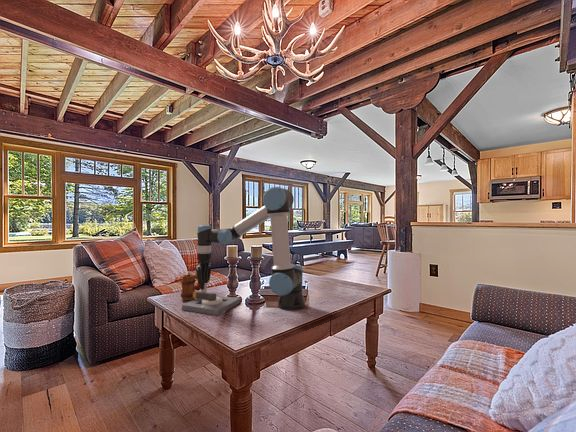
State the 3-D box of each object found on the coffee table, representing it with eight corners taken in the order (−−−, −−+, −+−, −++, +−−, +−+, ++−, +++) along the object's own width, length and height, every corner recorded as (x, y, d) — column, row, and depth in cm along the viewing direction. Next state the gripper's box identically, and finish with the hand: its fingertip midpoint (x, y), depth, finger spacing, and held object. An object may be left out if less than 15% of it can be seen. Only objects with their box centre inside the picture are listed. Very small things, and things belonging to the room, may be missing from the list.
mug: (185, 302, 164) (185, 276, 163) (176, 300, 168) (177, 274, 168) (206, 297, 175) (206, 272, 175) (198, 294, 180) (198, 270, 180)
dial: (226, 302, 162) (226, 292, 162) (214, 308, 152) (214, 298, 151) (200, 298, 168) (200, 289, 168) (187, 303, 158) (187, 294, 158)
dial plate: (239, 302, 165) (240, 297, 165) (217, 315, 144) (217, 309, 144) (207, 298, 173) (207, 293, 173) (181, 309, 152) (182, 304, 152)
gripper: (205, 250, 170) (205, 291, 170) (191, 253, 158) (190, 297, 158) (216, 251, 167) (216, 292, 168) (202, 254, 155) (202, 298, 156)
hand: (203, 294), depth 163 cm, fingers closed
